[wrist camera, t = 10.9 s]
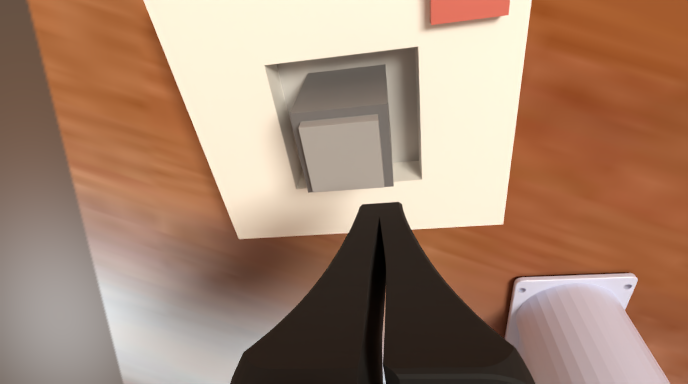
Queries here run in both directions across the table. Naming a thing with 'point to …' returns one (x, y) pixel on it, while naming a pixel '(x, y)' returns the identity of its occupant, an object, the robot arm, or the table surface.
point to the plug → (344, 129)
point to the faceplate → (343, 53)
